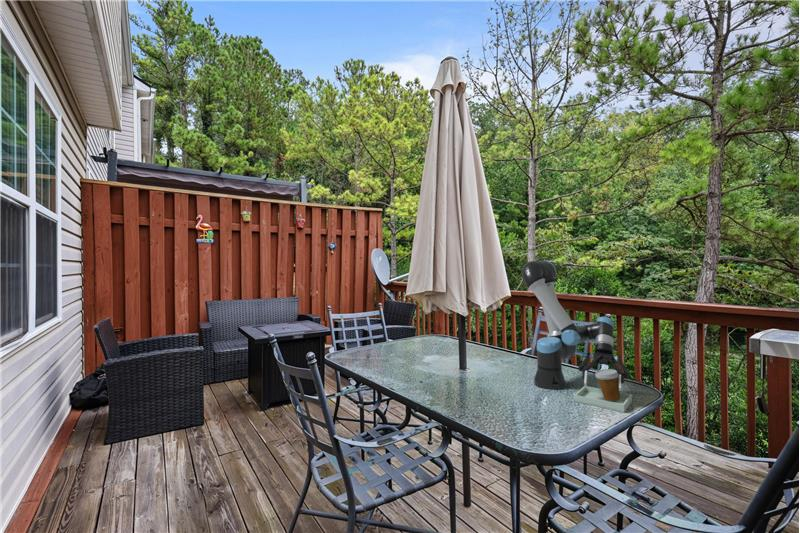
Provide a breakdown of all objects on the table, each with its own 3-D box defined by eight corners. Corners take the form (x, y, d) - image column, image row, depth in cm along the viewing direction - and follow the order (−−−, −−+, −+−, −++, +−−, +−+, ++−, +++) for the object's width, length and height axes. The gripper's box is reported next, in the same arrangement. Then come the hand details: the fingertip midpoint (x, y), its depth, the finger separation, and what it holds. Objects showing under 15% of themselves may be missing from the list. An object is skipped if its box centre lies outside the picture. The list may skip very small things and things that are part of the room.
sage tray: (573, 401, 174) (573, 395, 174) (584, 392, 186) (584, 385, 186) (624, 412, 161) (624, 405, 161) (632, 401, 173) (632, 394, 173)
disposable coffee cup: (611, 404, 167) (605, 376, 168) (595, 398, 176) (589, 372, 177) (629, 398, 170) (623, 371, 170) (612, 393, 179) (606, 367, 179)
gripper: (634, 353, 180) (635, 395, 167) (576, 348, 193) (572, 387, 180) (634, 344, 175) (635, 387, 163) (574, 339, 188) (570, 378, 176)
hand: (602, 387), depth 172 cm, fingers open, 13 cm apart
